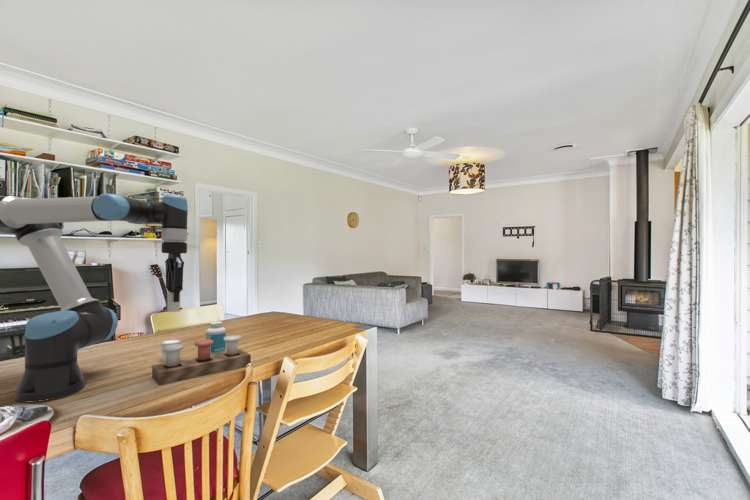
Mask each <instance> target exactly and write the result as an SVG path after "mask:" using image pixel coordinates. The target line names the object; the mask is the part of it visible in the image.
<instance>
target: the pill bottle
mask: <svg viewBox="0 0 750 500" xmlns="http://www.w3.org/2000/svg"><path fill="white" fill-rule="evenodd" d="M226 334H227V332H226V328H225V327H224V326H223V321H212V322H209V328H207V329H206V331H205V340H213V345H210V355H211V354H217V353H222V352H226V346H227V342H225V341H224V337H226V336H227V335H226Z"/></svg>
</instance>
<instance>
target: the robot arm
mask: <svg viewBox="0 0 750 500" xmlns="http://www.w3.org/2000/svg"><path fill="white" fill-rule="evenodd" d="M188 208H189V206H188V199H187V198H186V196H181V195H172V194H168V195H163V196H162V199H161V201H145V200H141V199H136V198H131V197H127V196H124V195H120V194H116V193H101V194H99V195H98V196H97V195H96V196H95V195H94V196H74V197H69V196H68V197H47V198H42V197H41V198H22V197H19V196H14V195H10V196H8V195H6V196H5V195H0V234H13V235H14V236H15V238H16V240H17V242H18V243H19V244H20V245H22V246H25V247H27V248H28V249H29V251H30V253H31V255H32V257H33V259H34V260H35V262H36V264H37V266H38V268H39V270H40V272H41V274H42V276H43V278H44V279H45V281H46V283H47V285H48V288H49V289H50V291H51V293H52V295H53V297H54V298H55V300H56V303H57V305H58V306H59V307H60V311H59V310H57V311H53V312H46V313H42V314H39V315H35V316H32V317H31V318H30V319H28V320H27V322H26V324H25V331H24V335H23V336H24V371H23V374H22V376H21V379H20V381H19V383H18V385H17V388H16V391H15V400H16V401H17V402H19V401H39V400H46V399H52V398H56V399H58V398H57V397H60V398H63V397H62V396H64V397H67V396H70V395H72V393H73V394H75V393H77V392H79V391H81V390H82V389H84V388H85V377H84V375H83V373H82V371H81V369H80V365H79V364H78V350H81V349H83V348H84V349H85V348H87V347H90V346H93V345H98V344H100V343H102V342H104V341H107V340H109V339H110V338H111V337H113V335H114V334H115V332H116V330H117V328H118V325H119V324H118V316H117V313H115V311H113V310H112V309H111V308H108V307H106V306H105V307H104V306H103V305H102V303H101V301H100V299H97V298H93V297H92V296H91V294H90V292H89V289H88V288H87V286H86V284H85V282H84V281H83V278H82V277H81V275H80V273H79V271H78V270H77V267H76V265H75V264H74V261H73V259H72V258H71V256H70V254H69V252H68V250H67V248H66V245H64V243H63V240H62V239H61V237H62V235H63V234H64V231H63V229H64V227H65V223H84V222H86V223H87V222H89V223H90V222H117V221H118V222H127V223H129V224H132V225H133V224H134V225H150V224H151V225H161V241H163V242H161V253H162V254H167V255H168V256H167V258H166V260H165V261H164V264H165V289H166V290H167V294H166V295H167V296H166V297H167V298H166V299H167V301H166V303H167V304H166V305H167V306H166V307H167V308H166V311H168V312H170V313H177V312H181V291H183V285H184V284H183V282H184V266H185V262H184V260H183V258H182V256H181V254H187V253H188V243H187V240H188V236H190V235H189V234H190V233H189V232H188V211H189V209H188ZM69 394H70V395H69ZM66 395H67V396H66ZM52 400H53V399H52ZM46 401H47V400H46ZM39 402H40V401H39Z"/></svg>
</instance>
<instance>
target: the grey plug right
mask: <svg viewBox="0 0 750 500" xmlns="http://www.w3.org/2000/svg"><path fill="white" fill-rule="evenodd" d="M241 339H242V336H241V335H238V334H237V335H234V334H233V335H226V337H224V341H225V342H226V354H228V355H233V354H237V353H238V350H239V342H240V341H241Z"/></svg>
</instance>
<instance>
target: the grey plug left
mask: <svg viewBox="0 0 750 500" xmlns="http://www.w3.org/2000/svg"><path fill="white" fill-rule="evenodd" d="M181 350H184V344H182V343H181V344H172V345H167V346H164V347H163V351H164V352H166V361H165V363H166V366H175V365H178V364H179V362H180V360H181V358H180V354H181V353H180V352H181Z"/></svg>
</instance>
